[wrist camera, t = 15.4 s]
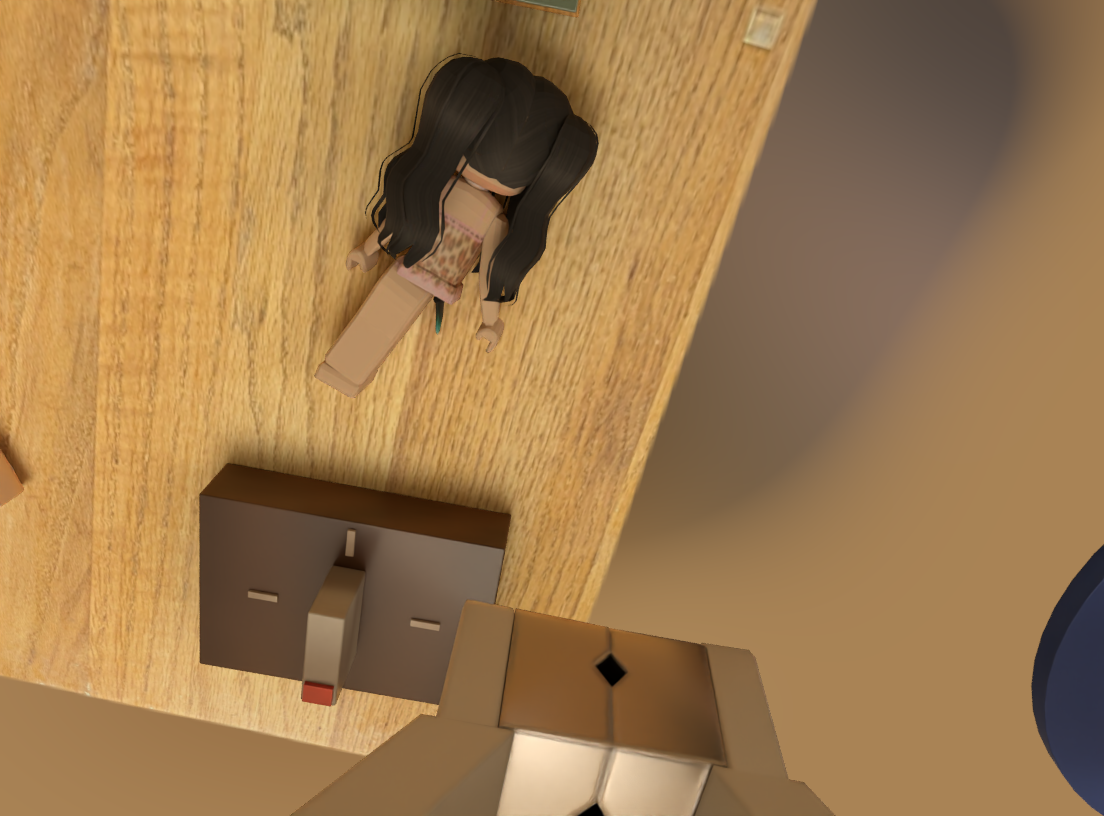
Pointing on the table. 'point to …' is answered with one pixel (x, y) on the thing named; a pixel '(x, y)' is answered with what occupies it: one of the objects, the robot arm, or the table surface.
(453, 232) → the toy figure
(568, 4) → the green push button box
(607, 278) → the table surface
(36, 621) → the table surface
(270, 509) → the dial panel
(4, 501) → the tablet stand
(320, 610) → the dial
